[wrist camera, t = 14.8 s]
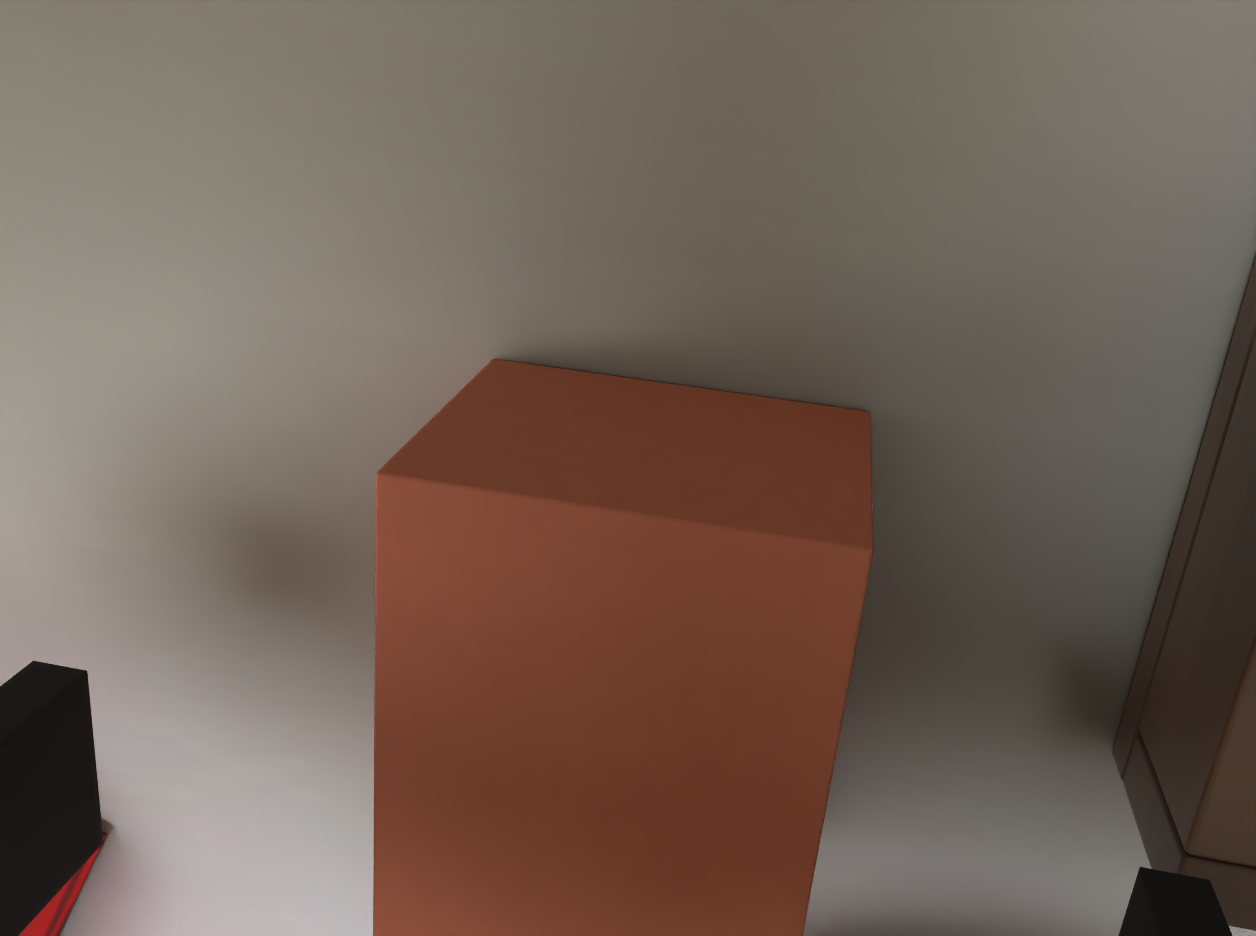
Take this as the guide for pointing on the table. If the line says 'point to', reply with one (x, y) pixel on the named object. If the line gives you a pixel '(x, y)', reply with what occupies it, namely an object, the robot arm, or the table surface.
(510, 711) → the reddish brown rectangular block
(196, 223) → the table surface
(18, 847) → the robot arm
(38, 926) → the french fries container
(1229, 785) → the frame
